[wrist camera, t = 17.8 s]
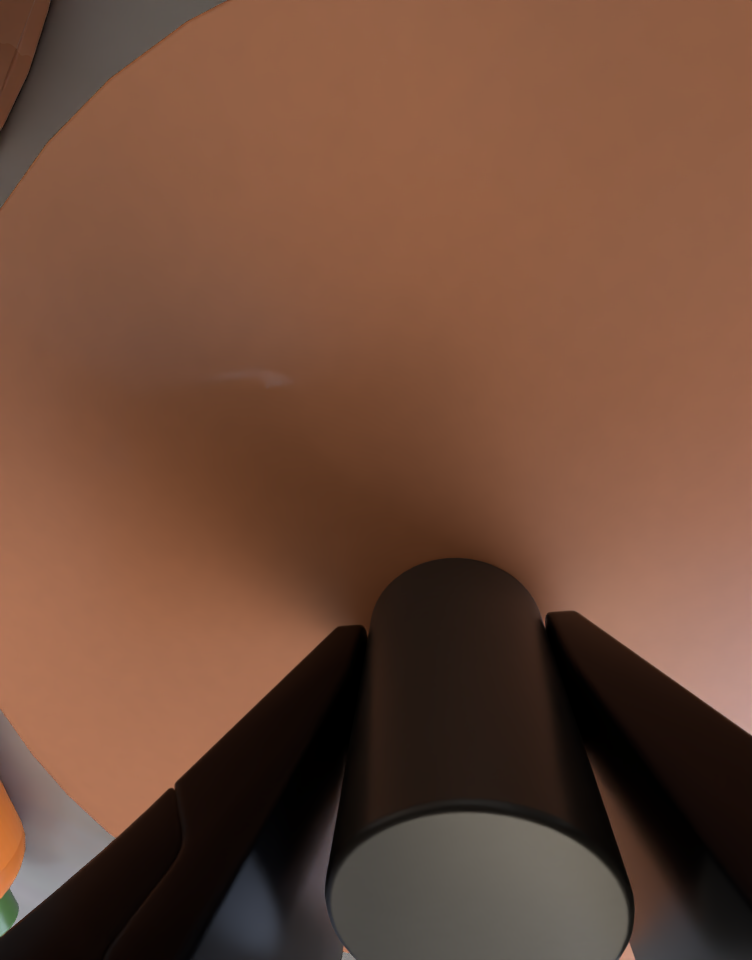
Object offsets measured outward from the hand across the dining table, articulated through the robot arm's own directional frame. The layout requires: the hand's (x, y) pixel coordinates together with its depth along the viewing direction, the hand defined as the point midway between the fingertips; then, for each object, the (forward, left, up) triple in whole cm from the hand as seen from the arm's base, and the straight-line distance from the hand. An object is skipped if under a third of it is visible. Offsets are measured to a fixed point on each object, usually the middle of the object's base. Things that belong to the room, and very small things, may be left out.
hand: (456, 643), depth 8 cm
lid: (0, 0, -1) cm, 1 cm away
